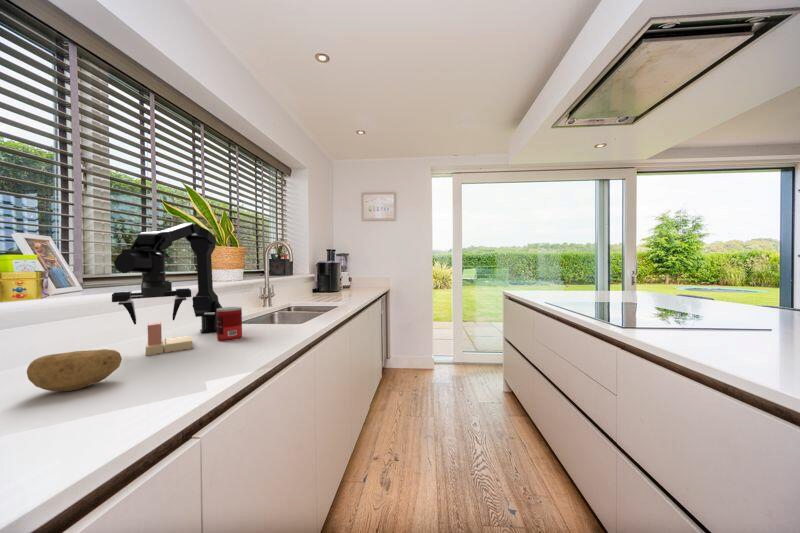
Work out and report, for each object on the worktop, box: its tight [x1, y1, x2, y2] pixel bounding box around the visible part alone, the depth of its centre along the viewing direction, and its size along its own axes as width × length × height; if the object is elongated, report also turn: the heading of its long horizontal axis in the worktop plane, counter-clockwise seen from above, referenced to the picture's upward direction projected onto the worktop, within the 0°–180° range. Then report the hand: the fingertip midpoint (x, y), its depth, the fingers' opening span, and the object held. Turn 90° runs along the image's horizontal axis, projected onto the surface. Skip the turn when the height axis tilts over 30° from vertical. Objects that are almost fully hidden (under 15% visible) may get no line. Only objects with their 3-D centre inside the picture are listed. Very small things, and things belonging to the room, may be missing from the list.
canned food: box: [216, 306, 243, 342], centre depth 107 cm, size 8×8×11 cm
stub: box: [145, 321, 164, 356], centre depth 93 cm, size 10×4×8 cm, turn 38°
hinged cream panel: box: [163, 335, 194, 353], centre depth 96 cm, size 10×7×3 cm
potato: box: [26, 348, 123, 392], centre depth 64 cm, size 10×14×8 cm
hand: (154, 322), depth 93 cm, fingers open, 9 cm apart
